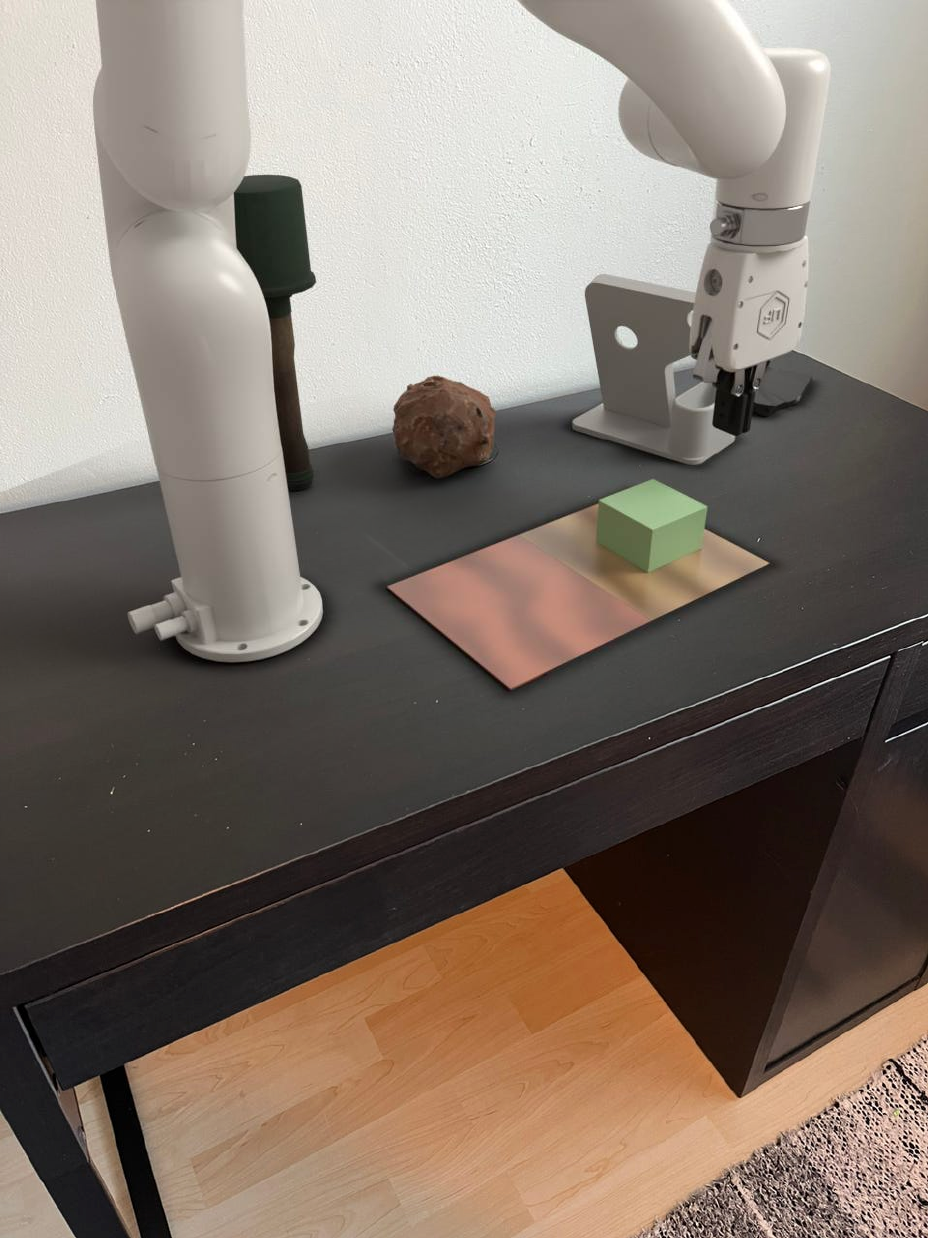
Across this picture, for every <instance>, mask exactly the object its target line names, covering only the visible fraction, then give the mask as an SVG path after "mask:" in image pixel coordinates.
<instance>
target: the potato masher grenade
mask: <svg viewBox="0 0 928 1238" xmlns="http://www.w3.org/2000/svg"><path fill="white" fill-rule="evenodd" d="M303 195H304V194H303V188H302V183H301V182H300V180H299V179H298V178H295V177H292V176H289V175H282V174H252V175H251V174H250V175H244V177H243V180H242V181H241V183H240V185H239V186H238V188H237V189H236V190H235V192H234V211H235V233H236V247H237V250H238V251H239V252H240V254H241V255H242V257H243V258H244V259H245V261H246V262H247V264H248V265H249V267H250V268H251V270H252V272H253V273H254V275H255V277H256V279H257V281H258V284H259V286H260V288H261V291H262V294H263V296H264V300H265V303H266V307H267V311H268V317H269V323H270V331H271V344H272V366H273V383H274V394H275V403H276V411H277V419H278V426H279V434H280V441H281V446H282V451H283V459H284V466H285V473H286V480H287V487H288V491H293V492H295V491H302V490H305V489H308V488H309V487H310V486H311V485H312V483H313V480H314V469H313V466H312V463H311V458H310V451H309V450H310V449H309V445H308V442H307V439H306V437H305V434H304V427H303V426H304V425H303V420H302V419H303V418H302V411H301V410H302V409H301V403H300V394H299V387H298V379H297V371H296V364H295V348H296V343H295V335H294V327H293V318H292V304H291V298H292V297H293V296H294V295H297V294H301V293H303V292H306V291H308V290H310V289H312V288H313V287H314V286H315V285H316V284H317V279H316V275H315V273H314V271H312V267H311V259H310V249H309V241H308V240H309V239H308V231H307V224H306V223H307V222H306V215H305V214H306V213H305V206H304V205H305V204H304V196H303Z"/></svg>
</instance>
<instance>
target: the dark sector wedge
mask: <svg viewBox="0 0 928 1238" xmlns="http://www.w3.org/2000/svg"><path fill="white" fill-rule="evenodd" d="M812 382H813V375H812V374H808V373H804V372H799V371H792V370H787V369H786V370H785V369H780V368H773V367H770V366H769V365H768V367H767V368H766V370H765V371H764V375H763V379H762V383H761V386H760V387H759V389H757V390H753V391H755V392H756V393H755V399H754V406H753V412H754V413H756V414H757V415H759V416H762V417H769V416H771V415H773V414H774V413H776V412H778V411H780V410H782V409H785V408H788V407H792V406H795V405H798V404H800V403H801V401H802V400H803V399H804V397H805V395H806V394H807V392H808V391H809V388H810V386H811V384H812Z"/></svg>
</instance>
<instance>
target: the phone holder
mask: <svg viewBox="0 0 928 1238" xmlns="http://www.w3.org/2000/svg"><path fill="white" fill-rule="evenodd" d="M695 296H696V291H691V290H686V289H681V288H675V287H672V286H666V285H661V284H657V283H651V282H646V281H641V280H637V279H632V278H627V277H622V276H617V275H611V274H607V273H601V274H598V275H597V276H595V277H594V278H593V279H592V281H590V282H589V283H588V285H586V287H585V289H584V301H585V305H586V311H587V317H588V322H589V328H590V329H589V330H590V334H591V340H592V346H593V352H594V358H595V364H596V369H597V376H598V382H599V387H600V393H601V397H602V398H601V399H602V403H600V404H598V405H597V406H595V407H593V408H591V409H589V410H588V411H586V412H584V413H583V414H580V415H579V416H577V417H575V418H574V419H573V420H572V423H571V424H572V429H573V431H576V432H578V433H582V434H585V435H587V436H591V437H593V438H598V439H600V440H603V441H605V440H608V441H611V442H615V443H618V444H620V445H624V446H627V447H630V448H633V449H637V450H640V451H643V452H647V453H650V454H652V455H653V454H654V455H655V456H656V455H657V456H660V457H662V458H666V459H669V460H673V461H675V462H678V463H681V464H685V465H691V466H692V465H693V466H695V465H701V464H702V463H704V462H706V460H708V459H709V458H712V456H714V455H715V454H718V453H720V452H721V451H722V450H724V449H725V448H727V447H728V446H730V445H731V444H733V443H734V442H735V440H736V436H733V435H731V434H729V433H726V432H724V431H721V430H719V429H717V428H715V427H713V425H712V420H713V412H714V404H715V396H716V388H713V386H712V383H704V382H702V381H700V383H698V384H696V385H695V386H693V387H691V388H689V389H688V390H687V391H685V392H683V393H681V394H680V395H678V396H676V387H675V375H674V363H675V362H677V361H681V360H682V359H686V358H687V357H691V354H690V330H691V322H692V314H693V307H694V301H695ZM619 327H625V328H627V329H629V330H630V331H631V332H633V334H634V335H635V337H636V342H637V344H636V346H633V347H629V346H627V345H625V344H623V340H621V338H620V337H619V334H618V328H619Z"/></svg>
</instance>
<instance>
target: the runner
mask: <svg viewBox="0 0 928 1238" xmlns="http://www.w3.org/2000/svg"><path fill="white" fill-rule="evenodd" d="M598 504H599V503H596V504H594V505H591V506H589V507H585V508H584V509H583V508H582V509H580V510H578V511H576V512H573V513H571V514H568V515H566V516H563V517H561V518H559V519H555V520H553V521H550V522H548V523H545V524H542V525H540V526H538V527H535V528H533V529H529V530H526V531H525V532H522V533H520V534H517V535H515V536H512V537H509V538H507V539H503V540H502V541H499V542H497V543H495V544H492V545H489V546H486V547H484V548H482V549H479V550H477V551H474V552H471V553H468V554H466V555H463V556H461V557H458V558H456V559H454V560H451V561H447V562H446V563H444V564H441V565H438V566H435V567H433V568H430V569H428V570H425V571H423V572H420V573H418V574H415V575H413V576H410V577H408V578H405V579H403V580H400V581H396V582H395V583H393V584H390V585H387V586H386V589H387V590H388V591H390V592H391V593H392V594H393V595H394V596H396V597H397V598H398V599H399V600H401V602H403V603H404V604H405V605H406V606H408V608H410V609H411V610H412V611H414V612H415V613H416V614H417V615H418V616H420V617H421V618H422V619H423V620H424V621H425V622H427V623H428V624H429V625H431V626H432V627H433V628H434V629H435V630H437V631H438V632H439V634H442V636H444V637H445V638H446V639H448V640H449V642H451V643H452V644H454V645H455V646H456V647H457V648H458V649H460V650H461V651H462V652H463V653H464V654H465V655H467V656H468V657H469V658H470V659H472V660H473V661H474V662H475V663H477V665H479V667H481V668H483V670H485V671H486V672H487V673H488V674H489V675H491V676H492V677H493V678H494V679H496V680H497V681H498V682H499V683H500V684H502V685H503V686H504V687H505V688H506V689H508V690H509V691H513V690H515V689H517V688H519V687H521V686H524V685H525V684H527V683H530V682H531V681H533V680H536V679H538V678H540V677H542V676H543V675H546V674H547V673H548V672H549V671H552V670H553V669H555V668H558V667H560V666H561V665H564V664H566V663H568V662H570V661H572V660H575V659H576V658H578V657H580V656H582V655H585V654H587V653H588V652H590V651H592V650H595V649H596V648H599V647H601V646H603V645H605V644H607V643H609V642H611V641H613V640H615V639H617V638H619V637H621V636H623V635H626V634H628V633H629V632H632V631H634V630H636V629H638V628H640V627H641V626H644V625H646V624H648V623H650V622H652V621H655V620H656V619H658V618H661V617H662V616H664V615H666V614H669V613H671V612H673V611H676V610H677V609H679V608H681V607H683V606H685V605H687V604H689V603H692V602H693V601H695V600H698V599H699V598H701V597H704V596H705V595H707V594H710V593H712V592H714V591H717V590H718V589H720V588H723V587H724V586H726V585H728V584H731V583H733V582H734V581H736V580H739V579H741V578H743V577H745V576H747V575H749V574H751V573H753V572H755V571H757V570H759V569H761V568H763V567H765V566H768V565H770V562H768V561H766V560H764V559H762V558H761V557H759V556H757V555H756V554H753V553H752V552H749V551H748V550H746V549H744V548H742V547H740V546H739V545H736V544H734V543H732V542H730V541H729V540H727V539H725V538H724V537H721V536H719V535H718V534H716V533H714V532H711V531H710V530H708V529H706V528H704V535H703V542H702V548H701V549H699V550H697V551H695V552H693V553H690V554H688V555H686V556H684V557H682V558H679V559H677V560H675V561H673V562H671V563H668V564H666V565H664V566H662V567H660V568H657V569H655V570H653V571H651V572H648V573H647V572H646V571H644V570H642V569H641V568H639V567H637V566H636V565H634V564H632V563H631V562H629V561H627V560H626V559H624V558H622V557H621V556H619V555H617V554H616V553H614V552H612V551H611V550H609V549H607V548H606V547H604V546H602V545H601V544H599V543H597V542H596V533H597V519H598Z"/></svg>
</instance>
